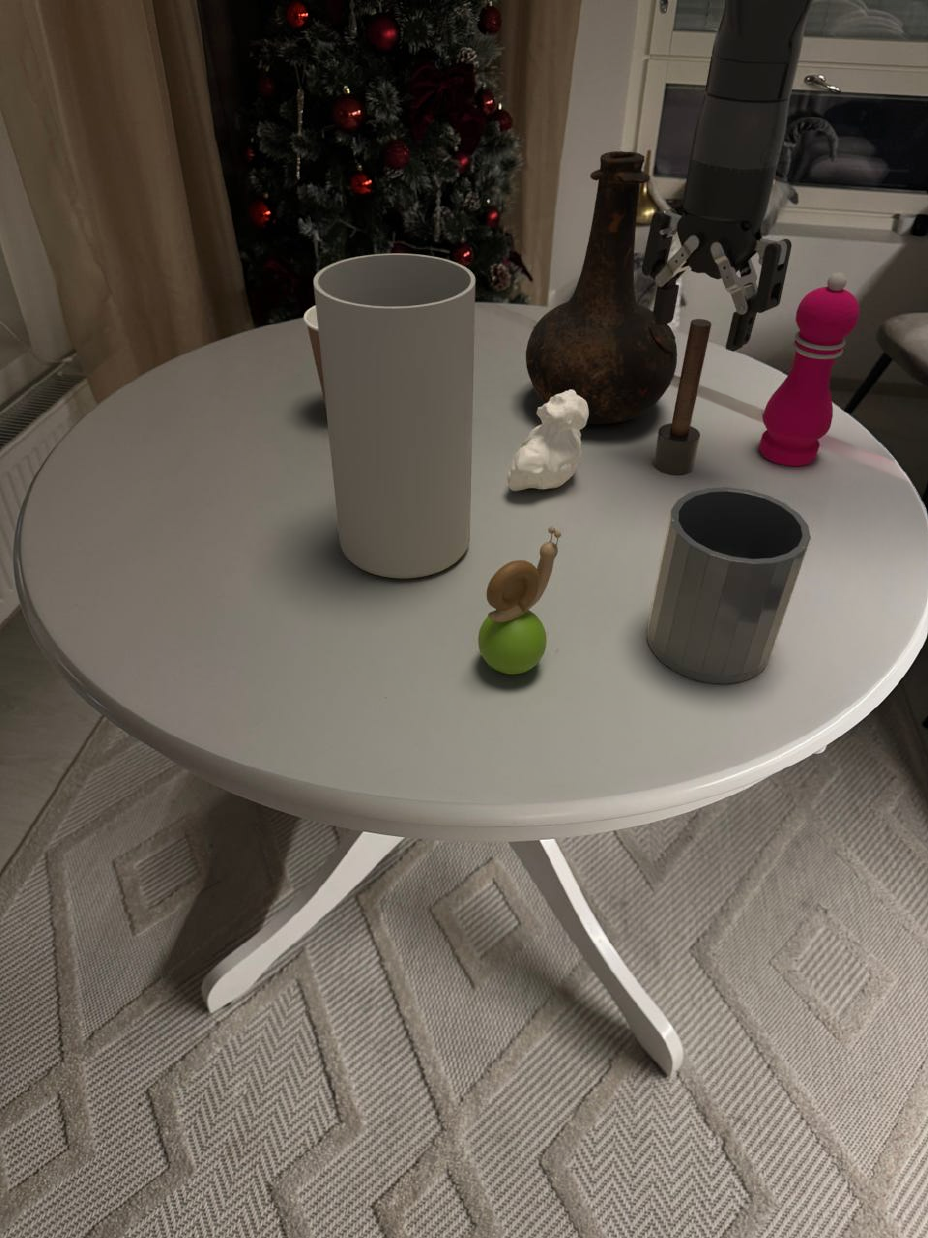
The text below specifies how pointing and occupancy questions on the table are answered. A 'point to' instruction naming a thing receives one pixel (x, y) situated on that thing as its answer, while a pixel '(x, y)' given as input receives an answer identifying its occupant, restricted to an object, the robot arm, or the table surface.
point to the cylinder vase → (399, 408)
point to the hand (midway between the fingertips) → (697, 335)
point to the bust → (551, 445)
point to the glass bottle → (606, 314)
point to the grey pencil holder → (725, 583)
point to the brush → (684, 408)
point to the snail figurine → (517, 613)
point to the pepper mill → (809, 376)
